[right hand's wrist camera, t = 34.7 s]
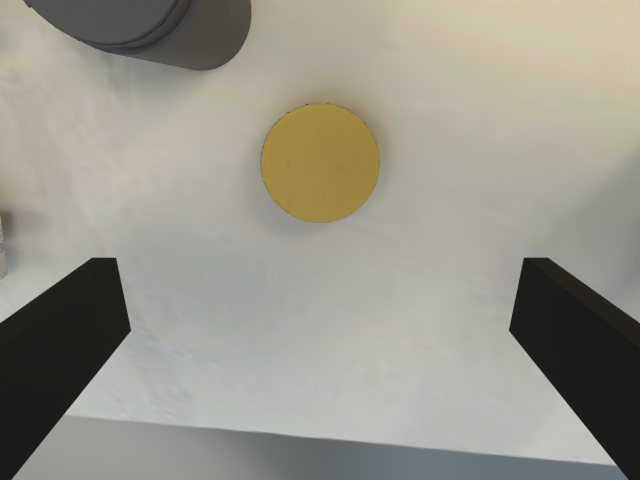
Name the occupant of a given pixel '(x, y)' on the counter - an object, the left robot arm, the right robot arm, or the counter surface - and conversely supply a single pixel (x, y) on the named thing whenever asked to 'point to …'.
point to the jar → (155, 28)
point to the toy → (2, 256)
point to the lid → (320, 162)
